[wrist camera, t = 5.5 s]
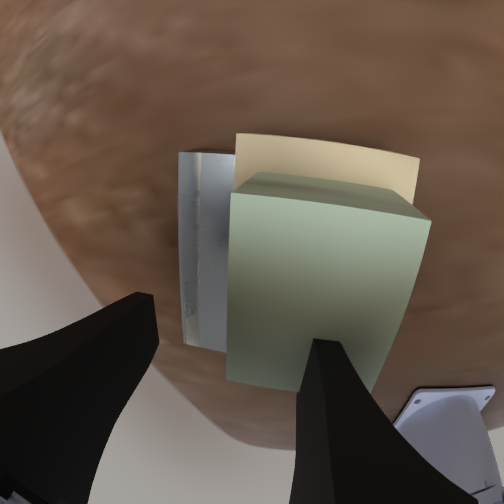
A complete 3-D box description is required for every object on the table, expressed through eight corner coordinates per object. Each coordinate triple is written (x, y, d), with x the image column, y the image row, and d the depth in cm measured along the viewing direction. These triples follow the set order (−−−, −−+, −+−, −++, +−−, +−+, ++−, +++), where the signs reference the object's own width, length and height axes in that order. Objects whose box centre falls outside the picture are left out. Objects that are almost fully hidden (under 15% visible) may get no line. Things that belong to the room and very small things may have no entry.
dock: (329, 345, 16) (330, 369, 14) (195, 322, 17) (183, 343, 16) (368, 167, 12) (378, 173, 10) (196, 148, 13) (178, 151, 12)
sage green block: (363, 327, 13) (378, 420, 8) (239, 310, 14) (202, 397, 9) (402, 153, 10) (470, 175, 5) (249, 132, 11) (197, 135, 6)
